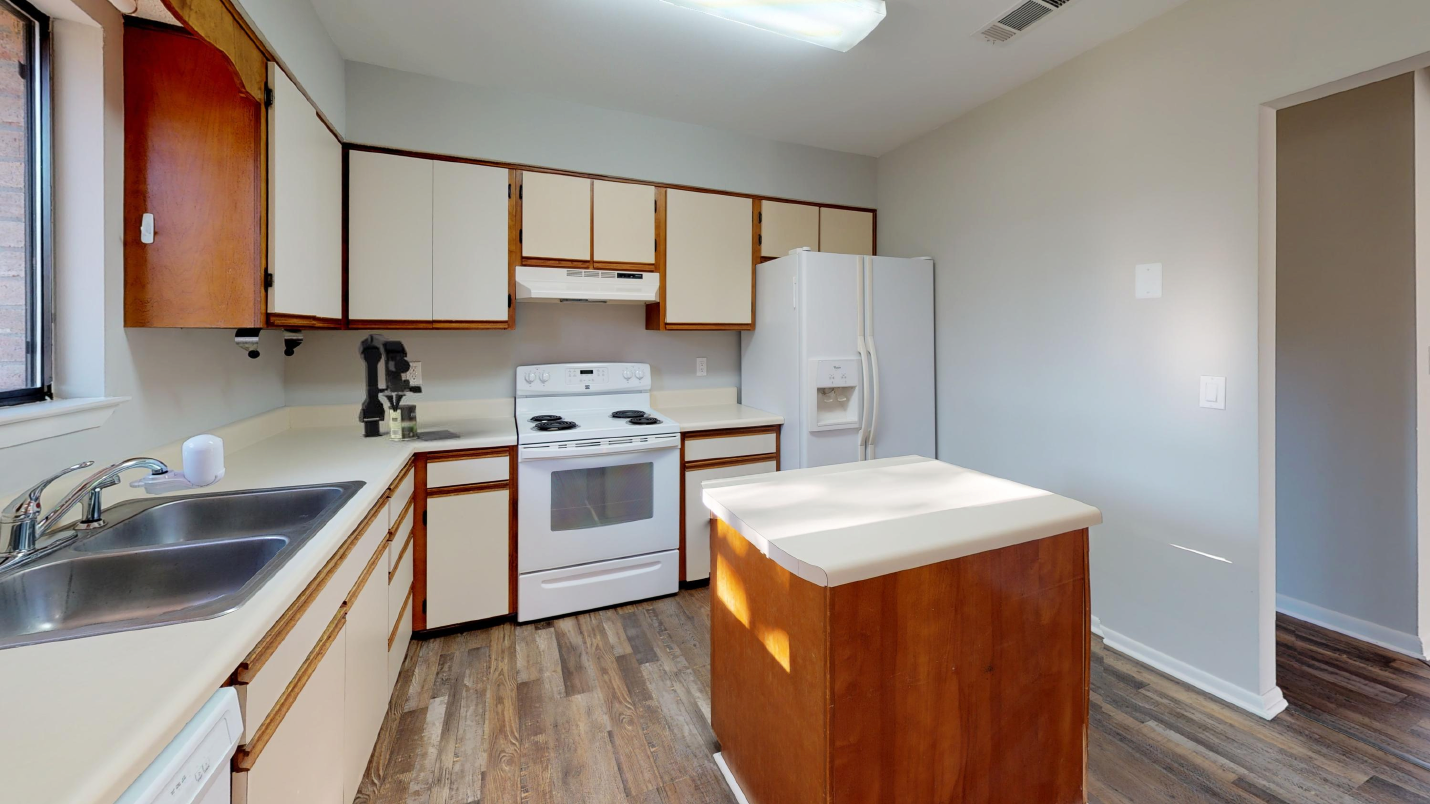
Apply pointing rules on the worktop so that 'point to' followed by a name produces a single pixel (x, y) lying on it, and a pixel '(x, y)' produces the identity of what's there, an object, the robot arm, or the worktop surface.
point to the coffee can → (403, 423)
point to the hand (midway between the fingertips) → (395, 412)
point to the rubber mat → (436, 435)
